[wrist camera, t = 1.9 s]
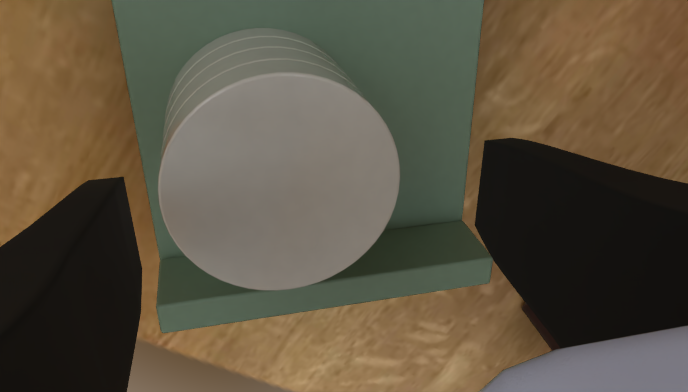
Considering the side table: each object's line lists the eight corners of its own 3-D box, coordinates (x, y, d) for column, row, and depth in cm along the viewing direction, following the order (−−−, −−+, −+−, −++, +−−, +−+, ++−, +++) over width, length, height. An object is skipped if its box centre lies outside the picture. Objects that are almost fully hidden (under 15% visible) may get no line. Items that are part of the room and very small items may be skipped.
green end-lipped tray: (430, 203, 23) (490, 284, 18) (167, 235, 21) (161, 334, 16) (467, -335, 15) (587, -430, 11) (62, -364, 13) (-5, -494, 9)
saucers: (355, 195, 19) (397, 275, 15) (179, 216, 18) (176, 306, 14) (354, 21, 16) (406, 63, 12) (150, 33, 15) (137, 83, 11)
